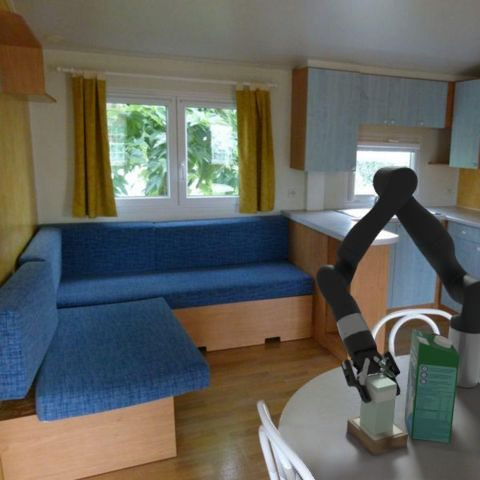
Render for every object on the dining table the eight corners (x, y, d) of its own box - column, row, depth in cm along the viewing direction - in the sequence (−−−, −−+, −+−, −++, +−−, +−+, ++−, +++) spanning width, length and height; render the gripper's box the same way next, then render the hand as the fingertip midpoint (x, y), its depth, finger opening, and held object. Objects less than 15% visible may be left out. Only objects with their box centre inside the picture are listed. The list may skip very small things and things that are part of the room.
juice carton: (377, 416, 107) (380, 372, 105) (393, 429, 102) (397, 383, 100) (359, 421, 105) (362, 377, 103) (374, 435, 100) (377, 388, 98)
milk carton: (450, 443, 102) (461, 346, 97) (410, 438, 104) (419, 342, 99) (440, 421, 111) (450, 331, 106) (404, 417, 112) (412, 328, 108)
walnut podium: (379, 421, 110) (379, 410, 110) (407, 445, 101) (408, 433, 101) (346, 430, 107) (347, 418, 106) (373, 455, 98) (374, 443, 97)
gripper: (339, 333, 103) (366, 400, 95) (386, 325, 109) (415, 388, 100) (326, 344, 109) (350, 409, 101) (371, 336, 114) (398, 397, 106)
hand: (383, 398), depth 101 cm, fingers open, 8 cm apart
